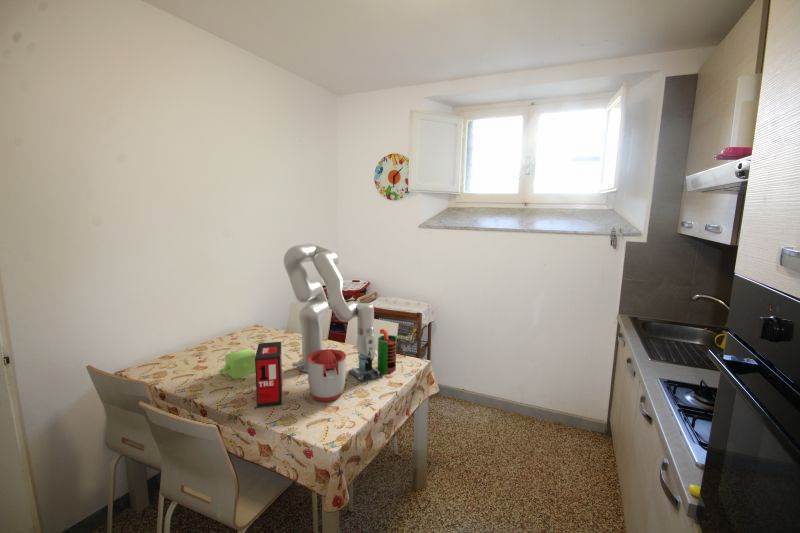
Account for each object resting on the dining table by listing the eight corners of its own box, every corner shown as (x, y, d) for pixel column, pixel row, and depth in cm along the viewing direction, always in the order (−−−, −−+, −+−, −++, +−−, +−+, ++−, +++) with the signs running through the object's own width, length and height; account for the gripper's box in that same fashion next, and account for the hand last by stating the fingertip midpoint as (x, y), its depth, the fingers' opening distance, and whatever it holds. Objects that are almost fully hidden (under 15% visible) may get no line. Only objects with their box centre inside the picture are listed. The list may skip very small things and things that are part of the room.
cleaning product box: (260, 388, 154) (258, 343, 151) (282, 385, 157) (281, 341, 154) (257, 408, 139) (254, 358, 136) (281, 404, 141) (279, 356, 138)
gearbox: (224, 384, 158) (223, 364, 156) (215, 376, 164) (214, 357, 163) (264, 371, 171) (263, 352, 169) (254, 364, 177) (253, 346, 176)
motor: (393, 374, 169) (394, 333, 166) (374, 372, 171) (375, 332, 168) (397, 366, 179) (398, 327, 176) (380, 364, 181) (380, 325, 178)
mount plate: (361, 383, 160) (361, 377, 160) (348, 372, 171) (348, 367, 171) (382, 377, 166) (382, 372, 166) (369, 367, 177) (369, 362, 177)
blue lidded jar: (362, 373, 164) (362, 358, 163) (356, 368, 169) (356, 354, 168) (374, 370, 167) (374, 355, 166) (368, 365, 173) (368, 351, 172)
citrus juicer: (312, 410, 137) (311, 360, 134) (304, 390, 153) (303, 344, 150) (352, 402, 144) (351, 354, 141) (341, 383, 159) (340, 340, 156)
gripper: (381, 334, 160) (381, 372, 163) (364, 324, 175) (364, 359, 177) (366, 337, 156) (366, 376, 159) (350, 326, 171) (350, 362, 173)
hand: (365, 367), depth 168 cm, fingers closed on blue lidded jar, 5 cm apart
